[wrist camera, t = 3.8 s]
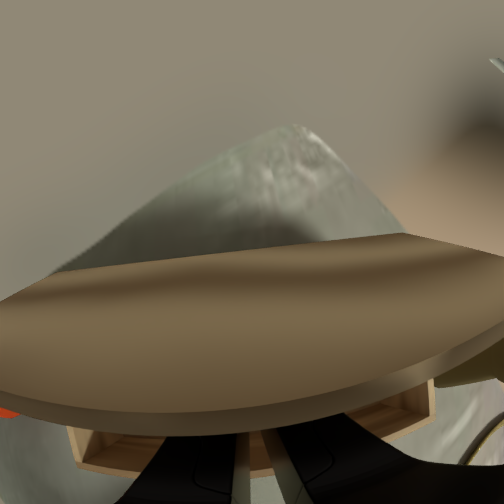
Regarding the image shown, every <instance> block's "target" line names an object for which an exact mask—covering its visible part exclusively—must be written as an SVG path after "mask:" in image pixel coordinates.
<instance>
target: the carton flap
mask: <svg viewBox="0 0 504 504" xmlns="http://www.w3.org/2000/svg"><path fill="white" fill-rule="evenodd" d="M502 338H504V257H502V256H498V255H494V254H491V253H487V252H483V251H479V250H475V249H471V248H467V247H463V246H459V245H455V244H451V243H447V242H442V241H438V240H434V239H429V238H425V237H420V236H415V235H411V234H406V233H394V234H385V235H376V236H367V237H358V238H349V239H340V240H331V241H322V242H313V243H304V244H296V245H287V246H278V247H269V248H260V249H251V250H243V251H234V252H225V253H216V254H208V255H199V256H190V257H182V258H173V259H165V260H156V261H147V262H139V263H130V264H122V265H113V266H105V267H96V268H88V269H79V270H71V271H63V272H56V273H54V274H52V275H50V276H48V277H46V278H44V279H42V280H40V281H38V282H36V283H34V284H33V285H31V286H29V287H27V288H25V289H23V290H21V291H19V292H17V293H15V294H13V295H12V296H10V297H8V298H6V299H4V300H2V301H1V302H0V407H1V408H4V409H7V410H10V411H13V412H16V413H19V414H22V415H25V416H29V417H32V418H36V419H40V420H44V421H48V422H52V423H56V424H61V425H65V426H70V427H76V428H81V429H87V430H94V431H101V432H109V433H118V434H130V435H145V436H204V435H220V434H231V433H241V432H249V431H257V430H264V429H270V428H276V427H282V426H288V425H293V424H298V423H302V422H307V421H311V420H316V419H320V418H324V417H328V416H331V415H335V414H339V413H342V412H346V411H349V410H352V409H356V408H359V407H362V406H365V405H368V404H371V403H374V402H377V401H380V400H382V399H385V398H388V397H390V396H393V395H396V394H398V393H401V392H403V391H406V390H408V389H410V388H413V387H415V386H417V385H420V384H422V383H424V382H426V381H428V380H430V379H433V378H435V377H437V376H439V375H441V374H443V373H445V372H447V371H449V370H451V369H453V368H454V367H456V366H458V365H460V364H462V363H464V362H465V361H467V360H469V359H471V358H472V357H474V356H476V355H477V354H479V353H481V352H482V351H484V350H486V349H487V348H489V347H490V346H492V345H493V344H495V343H496V342H498V341H499V340H501V339H502Z"/></svg>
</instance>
